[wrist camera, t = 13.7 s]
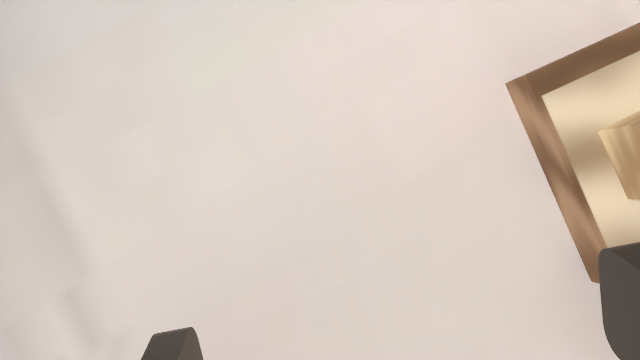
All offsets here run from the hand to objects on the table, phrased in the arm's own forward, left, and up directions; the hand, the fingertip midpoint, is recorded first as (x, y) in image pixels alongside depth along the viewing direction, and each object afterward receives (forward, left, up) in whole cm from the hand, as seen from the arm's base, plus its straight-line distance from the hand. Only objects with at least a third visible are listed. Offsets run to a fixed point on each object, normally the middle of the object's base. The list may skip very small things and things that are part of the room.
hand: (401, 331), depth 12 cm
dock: (+4, +21, -25) cm, 33 cm away
